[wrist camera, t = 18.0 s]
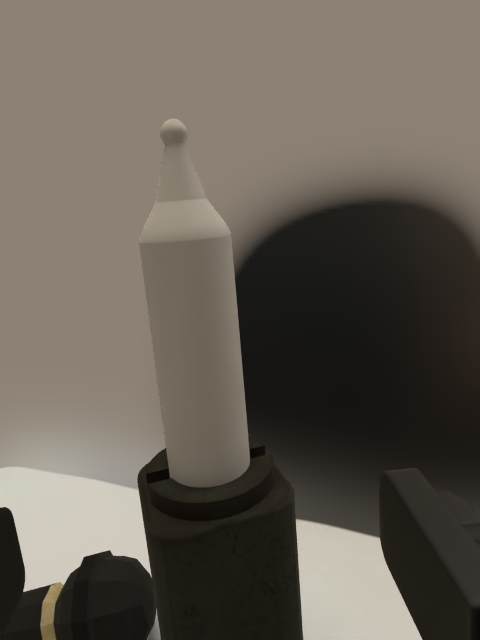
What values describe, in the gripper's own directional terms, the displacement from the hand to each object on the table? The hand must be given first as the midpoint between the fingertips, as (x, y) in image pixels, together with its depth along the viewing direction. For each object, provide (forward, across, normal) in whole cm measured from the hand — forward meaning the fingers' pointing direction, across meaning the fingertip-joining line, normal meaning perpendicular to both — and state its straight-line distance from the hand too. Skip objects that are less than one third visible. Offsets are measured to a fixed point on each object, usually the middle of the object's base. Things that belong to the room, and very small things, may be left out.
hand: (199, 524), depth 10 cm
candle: (+6, 0, +16) cm, 17 cm away
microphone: (+13, +14, +16) cm, 25 cm away
